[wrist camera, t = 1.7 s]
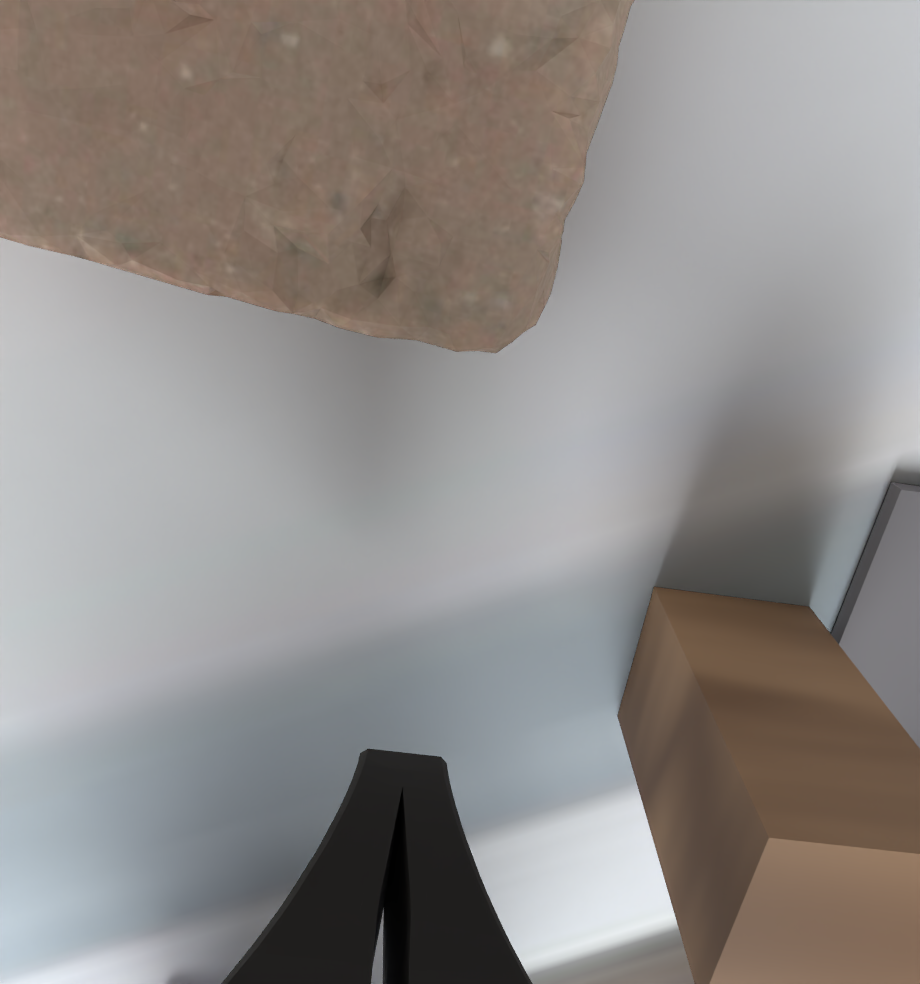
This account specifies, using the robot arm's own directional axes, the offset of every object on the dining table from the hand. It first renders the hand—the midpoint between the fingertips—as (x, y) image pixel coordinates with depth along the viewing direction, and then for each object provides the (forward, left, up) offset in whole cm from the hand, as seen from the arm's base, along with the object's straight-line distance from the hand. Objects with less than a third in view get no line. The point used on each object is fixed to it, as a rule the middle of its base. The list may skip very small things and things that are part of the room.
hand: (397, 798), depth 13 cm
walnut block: (0, -7, -5) cm, 9 cm away
